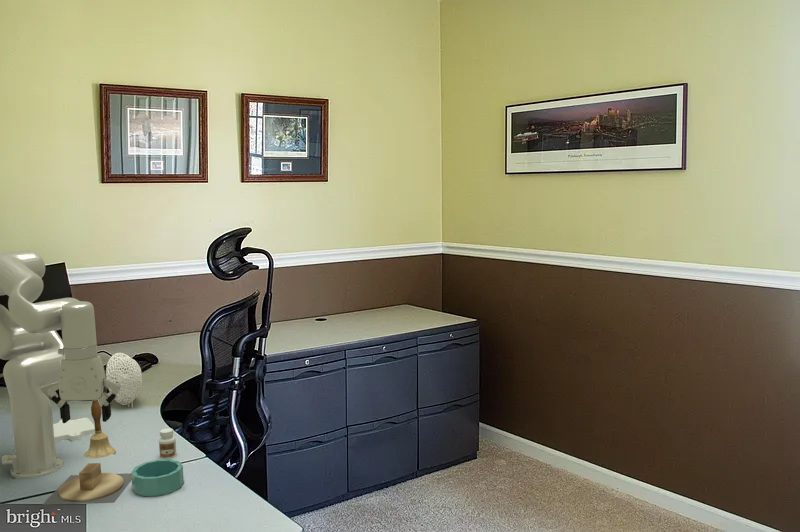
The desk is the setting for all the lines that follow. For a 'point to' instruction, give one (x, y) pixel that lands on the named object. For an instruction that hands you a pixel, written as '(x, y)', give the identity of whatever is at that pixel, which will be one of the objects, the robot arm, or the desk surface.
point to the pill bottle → (167, 444)
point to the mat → (56, 500)
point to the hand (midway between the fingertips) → (86, 420)
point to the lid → (90, 485)
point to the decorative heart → (124, 377)
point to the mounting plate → (73, 429)
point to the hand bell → (98, 436)
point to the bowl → (157, 477)
